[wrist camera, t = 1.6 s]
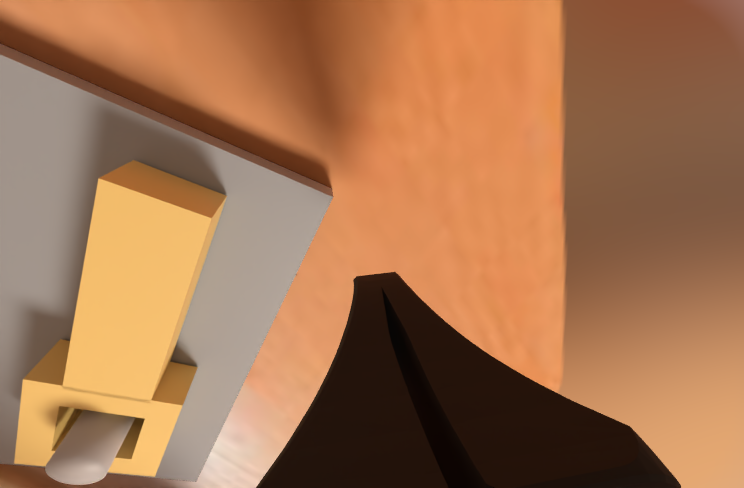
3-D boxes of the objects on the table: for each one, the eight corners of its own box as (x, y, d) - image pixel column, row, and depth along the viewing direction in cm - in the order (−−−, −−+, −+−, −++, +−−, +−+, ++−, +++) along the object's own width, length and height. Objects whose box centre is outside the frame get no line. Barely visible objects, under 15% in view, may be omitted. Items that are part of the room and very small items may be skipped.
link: (170, 435, 17) (154, 476, 16) (48, 418, 16) (14, 463, 14) (259, 208, 12) (250, 232, 10) (91, 143, 10) (45, 159, 9)
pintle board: (201, 464, 21) (166, 584, 16) (-191, 421, 15) (-430, 588, 10) (332, 188, 13) (340, 256, 9) (-337, -104, 8) (-1433, -389, 3)
